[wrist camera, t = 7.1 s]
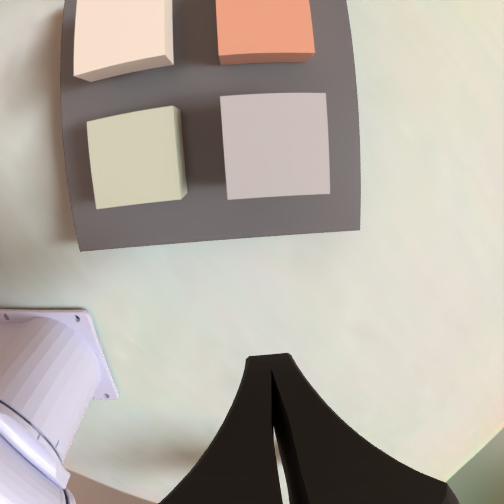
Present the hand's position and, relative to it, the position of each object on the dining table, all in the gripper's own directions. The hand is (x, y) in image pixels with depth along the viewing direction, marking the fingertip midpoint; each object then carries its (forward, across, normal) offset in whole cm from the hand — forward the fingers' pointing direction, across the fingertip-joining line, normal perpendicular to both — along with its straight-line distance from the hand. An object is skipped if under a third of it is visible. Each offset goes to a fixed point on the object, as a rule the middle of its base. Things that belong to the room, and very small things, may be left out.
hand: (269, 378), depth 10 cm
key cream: (+6, +5, -13) cm, 15 cm away
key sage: (+7, +5, -7) cm, 11 cm away
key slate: (+6, -1, -7) cm, 9 cm away
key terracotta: (+7, -1, -13) cm, 15 cm away
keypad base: (+9, +2, -10) cm, 14 cm away
